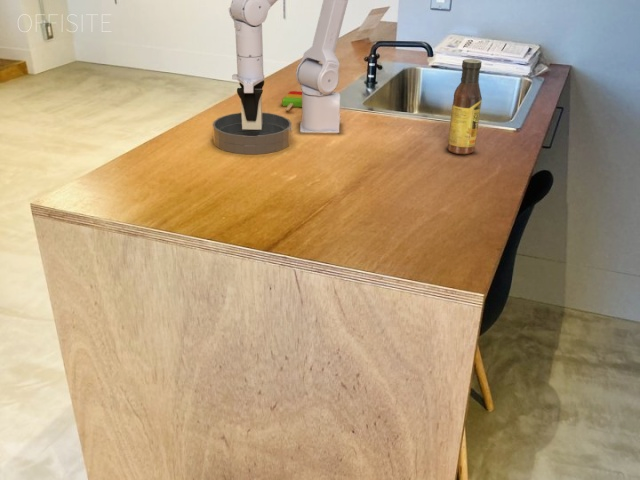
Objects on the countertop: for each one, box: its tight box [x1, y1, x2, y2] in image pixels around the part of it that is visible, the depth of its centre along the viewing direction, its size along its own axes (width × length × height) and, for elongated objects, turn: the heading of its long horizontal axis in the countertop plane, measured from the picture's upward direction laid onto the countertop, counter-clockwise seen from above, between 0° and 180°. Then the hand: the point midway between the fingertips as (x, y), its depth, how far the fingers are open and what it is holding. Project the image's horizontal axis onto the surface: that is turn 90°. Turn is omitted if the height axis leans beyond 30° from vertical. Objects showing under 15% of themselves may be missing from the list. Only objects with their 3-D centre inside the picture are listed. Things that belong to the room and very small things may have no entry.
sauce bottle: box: [447, 58, 483, 155], centre depth 152 cm, size 7×6×20 cm
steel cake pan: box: [212, 112, 293, 155], centre depth 158 cm, size 18×18×4 cm
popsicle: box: [281, 90, 302, 111], centre depth 185 cm, size 6×15×2 cm, turn 169°
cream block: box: [240, 89, 263, 130], centre depth 155 cm, size 4×4×8 cm
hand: (252, 116), depth 156 cm, fingers closed on cream block, 4 cm apart
